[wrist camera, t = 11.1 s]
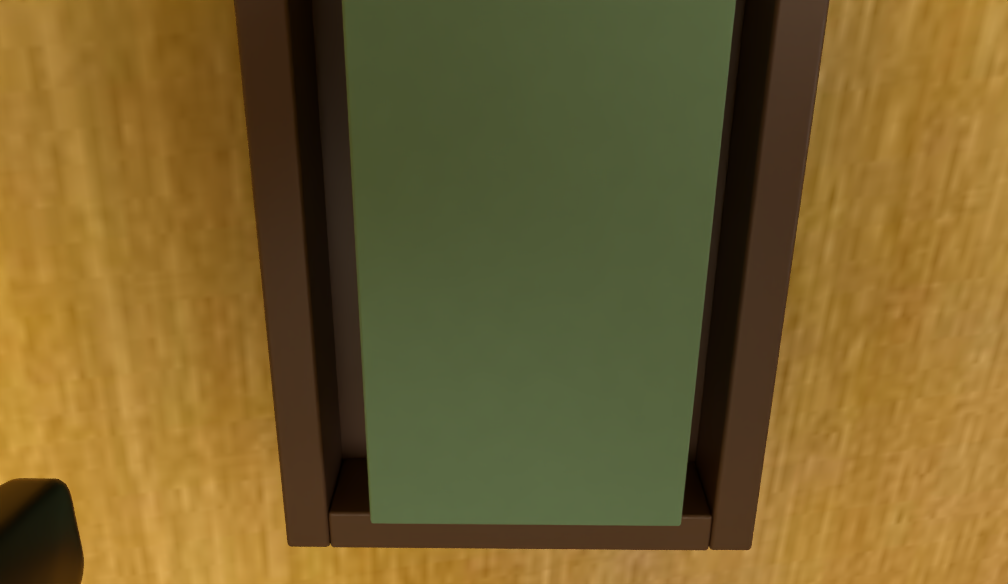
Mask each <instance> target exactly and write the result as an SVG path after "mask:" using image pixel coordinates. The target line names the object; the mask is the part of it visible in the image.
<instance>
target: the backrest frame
mask: <svg viewBox="0 0 1008 584" xmlns="http://www.w3.org/2000/svg"><path fill="white" fill-rule="evenodd" d="M829 1H830V0H736V5H735V14H734V24H733V33H732V43H731V52H730V62H729V71H728V81H727V90H726V100H725V109H724V119H723V128H722V138H721V148H720V157H719V167H718V176H717V186H716V195H715V205H714V214H713V224H712V233H711V243H710V252H709V262H708V271H707V281H706V290H705V300H704V309H703V319H702V329H701V338H700V348H699V357H698V367H697V376H696V386H695V395H694V405H693V414H692V424H691V433H690V443H689V452H688V462H687V471H686V481H685V490H684V500H683V510H682V519H681V524H680V525H679V526H625V525H506V524H386V523H372V522H371V520H370V504H369V486H368V468H367V449H366V431H365V413H364V395H363V377H362V359H361V340H360V322H359V304H358V286H357V268H356V250H355V231H354V213H353V195H352V177H351V159H350V141H349V122H348V104H347V86H346V68H345V50H344V32H343V13H342V0H234V5H235V16H236V26H237V36H238V46H239V56H240V66H241V76H242V87H243V97H244V107H245V117H246V127H247V137H248V147H249V158H250V168H251V178H252V188H253V198H254V208H255V218H256V228H257V239H258V249H259V259H260V269H261V279H262V289H263V299H264V310H265V320H266V330H267V340H268V350H269V360H270V370H271V381H272V391H273V401H274V411H275V421H276V431H277V441H278V451H279V462H280V472H281V482H282V492H283V502H284V512H285V522H286V533H287V542H288V545H289V546H298V547H327V546H329V545H330V543H331V545H332V547H381V548H501V549H621V550H707V549H708V547H710V549H713V550H749V549H750V548H751V545H752V539H753V532H754V525H755V518H756V511H757V504H758V497H759V490H760V483H761V476H762V469H763V462H764V455H765V448H766V441H767V434H768V427H769V420H770V413H771V406H772V399H773V392H774V385H775V378H776V371H777V364H778V357H779V350H780V343H781V336H782V329H783V322H784V315H785V308H786V301H787V294H788V287H789V280H790V273H791V266H792V259H793V252H794V245H795V238H796V231H797V224H798V217H799V210H800V203H801V196H802V189H803V182H804V175H805V168H806V161H807V154H808V147H809V140H810V133H811V126H812V119H813V112H814V105H815V98H816V91H817V84H818V77H819V70H820V63H821V56H822V49H823V42H824V35H825V29H826V22H827V15H828V8H829Z"/></svg>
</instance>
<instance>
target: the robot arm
mask: <svg viewBox="0 0 1008 584" xmlns="http://www.w3.org/2000/svg"><path fill="white" fill-rule="evenodd" d="M83 568H84V557H83V550H82V546H81V541H80V536H79V531H78V526H77V521H76V517H75V512H74V507H73V502H72V497H71V494H70V491H69V489H68V487H67V485H66V484H65V483H64V482H62V481H61V480H59V479H37V478H18V479H13V480H10V481H8V482H6V483H4V484H2V485H0V584H81V581H82V576H83Z"/></svg>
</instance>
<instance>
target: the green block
mask: <svg viewBox="0 0 1008 584" xmlns="http://www.w3.org/2000/svg"><path fill="white" fill-rule="evenodd" d="M735 5H736V0H342V13H343V32H344V50H345V68H346V86H347V104H348V122H349V141H350V159H351V177H352V195H353V213H354V231H355V250H356V268H357V286H358V304H359V322H360V340H361V359H362V377H363V395H364V413H365V431H366V449H367V468H368V486H369V504H370V520H371V522H372V523H386V524H506V525H625V526H679V525H680V524H681V519H682V510H683V500H684V490H685V481H686V471H687V462H688V452H689V443H690V433H691V424H692V414H693V405H694V395H695V386H696V376H697V367H698V357H699V348H700V338H701V329H702V319H703V309H704V300H705V290H706V281H707V271H708V262H709V252H710V243H711V233H712V224H713V214H714V205H715V195H716V186H717V176H718V167H719V157H720V148H721V138H722V128H723V119H724V109H725V100H726V90H727V81H728V71H729V62H730V52H731V43H732V33H733V24H734V14H735Z"/></svg>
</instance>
